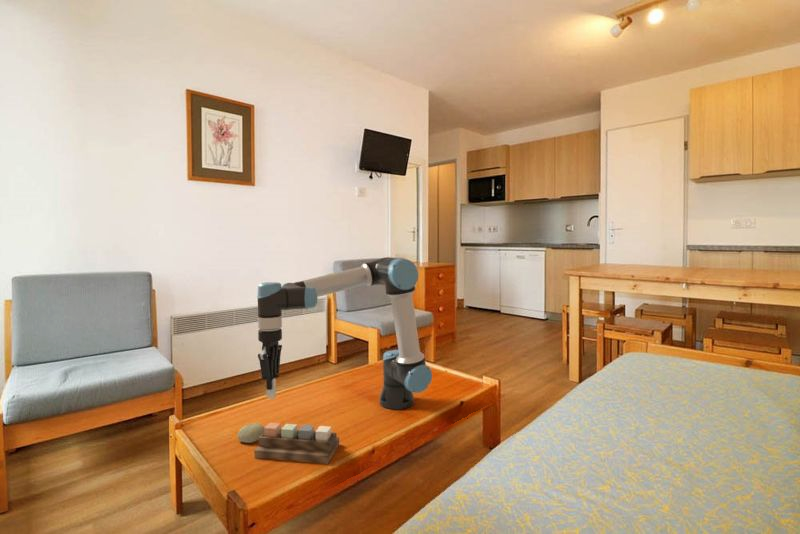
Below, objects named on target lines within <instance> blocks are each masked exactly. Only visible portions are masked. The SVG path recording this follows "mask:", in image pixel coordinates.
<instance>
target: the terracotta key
mask: <svg viewBox="0 0 800 534" xmlns="http://www.w3.org/2000/svg"><path fill="white" fill-rule="evenodd" d="M281 429H282V423H281V422H269V423H268V424H266V426H264V437H275V438H277V437H278V435H279V434H280V433H281Z"/></svg>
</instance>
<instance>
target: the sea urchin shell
mask: <svg viewBox="0 0 800 534" xmlns="http://www.w3.org/2000/svg"><path fill="white" fill-rule="evenodd" d="M264 428H265V426H264V425H263V424H261V423H258V422H254V423H248V424H245V425H244V426H242V427H241V428H240V430H238V433H237V439H238V440H239V442H241V443H246V444H251V443H255V442H259V440H258V437H259V436H261V435H262V434H263V433H264Z"/></svg>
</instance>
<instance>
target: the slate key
mask: <svg viewBox="0 0 800 534" xmlns="http://www.w3.org/2000/svg"><path fill="white" fill-rule="evenodd" d="M297 430H298V439H302V440H311V439H312V438H313V437H314V431H315V425H313V424H312V425H310V424H302V425H301V426H300V428H299V429H297Z"/></svg>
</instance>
